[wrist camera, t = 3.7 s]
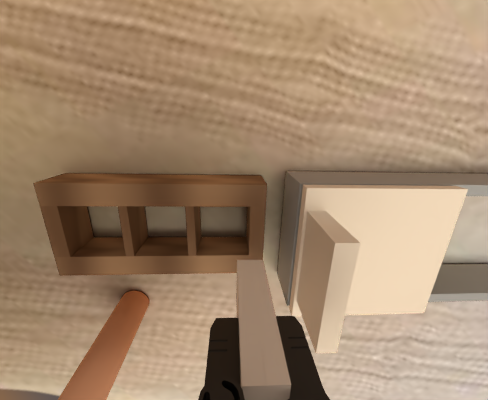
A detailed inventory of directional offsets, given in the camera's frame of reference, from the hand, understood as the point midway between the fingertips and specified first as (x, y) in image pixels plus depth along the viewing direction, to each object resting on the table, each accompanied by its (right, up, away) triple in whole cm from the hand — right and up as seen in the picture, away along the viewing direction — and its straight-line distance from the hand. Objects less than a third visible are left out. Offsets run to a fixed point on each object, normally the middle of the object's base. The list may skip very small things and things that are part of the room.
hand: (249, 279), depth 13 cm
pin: (-11, -5, +9) cm, 15 cm away
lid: (+9, +1, +3) cm, 9 cm away
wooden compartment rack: (-7, +3, +6) cm, 9 cm away
